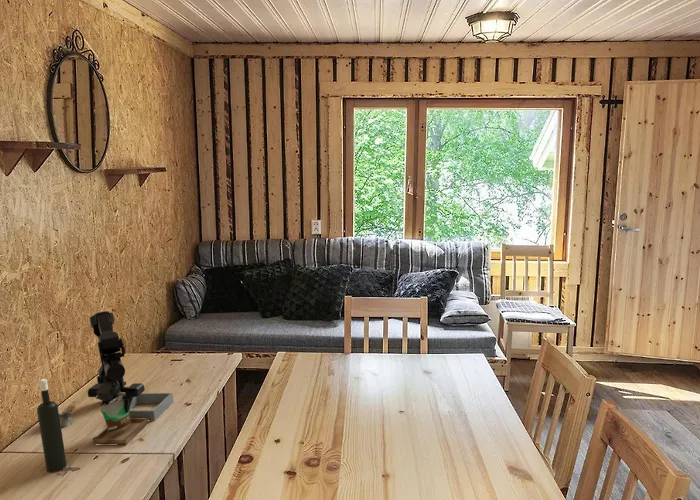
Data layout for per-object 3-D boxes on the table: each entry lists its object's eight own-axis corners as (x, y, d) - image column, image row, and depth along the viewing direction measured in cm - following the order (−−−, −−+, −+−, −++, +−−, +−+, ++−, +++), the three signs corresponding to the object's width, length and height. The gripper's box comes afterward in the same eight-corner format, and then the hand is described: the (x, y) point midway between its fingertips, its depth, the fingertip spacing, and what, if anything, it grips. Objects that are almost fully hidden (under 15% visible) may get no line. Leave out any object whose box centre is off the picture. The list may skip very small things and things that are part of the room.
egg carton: (73, 418, 217) (72, 409, 216) (71, 427, 210) (70, 416, 209) (42, 424, 213) (41, 414, 212) (39, 433, 206) (38, 422, 206)
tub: (117, 421, 212) (115, 411, 211) (138, 402, 228) (136, 393, 227) (154, 420, 210) (153, 410, 209) (173, 402, 226) (172, 392, 225)
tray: (93, 445, 194) (93, 439, 194) (118, 423, 210) (117, 418, 209) (126, 445, 192) (125, 439, 192) (148, 423, 208) (147, 418, 208)
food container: (122, 431, 194) (115, 404, 193) (106, 434, 195) (99, 407, 194) (140, 415, 206) (133, 390, 205) (125, 418, 207) (118, 392, 206)
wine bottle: (45, 474, 177) (31, 384, 172) (47, 465, 182) (33, 378, 177) (66, 469, 179) (52, 380, 174) (67, 461, 184) (53, 374, 179)
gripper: (75, 380, 191) (81, 423, 193) (126, 380, 188) (132, 423, 191) (94, 368, 202) (99, 408, 204) (142, 367, 199) (148, 408, 202)
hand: (119, 412), depth 200 cm, fingers closed on food container, 6 cm apart
